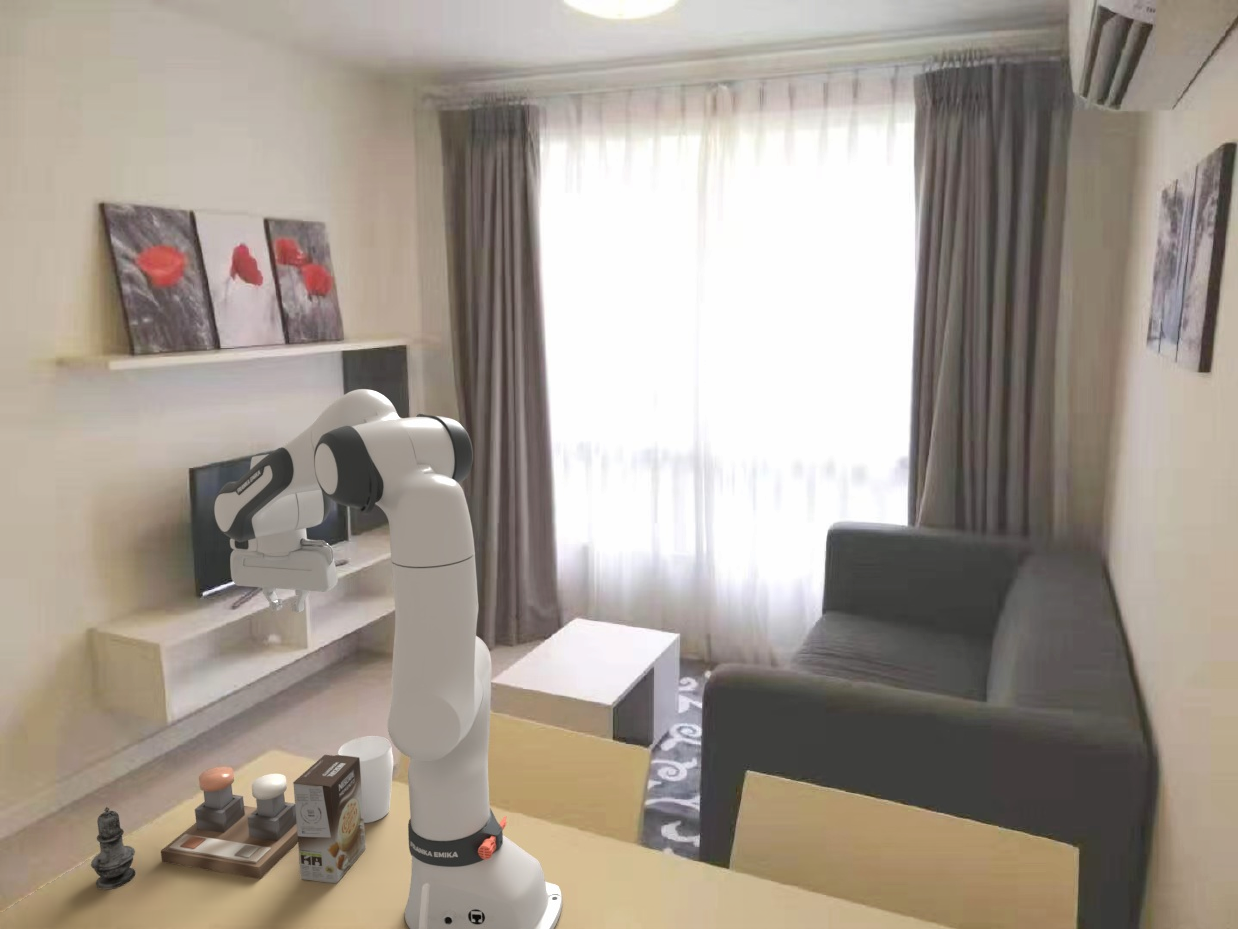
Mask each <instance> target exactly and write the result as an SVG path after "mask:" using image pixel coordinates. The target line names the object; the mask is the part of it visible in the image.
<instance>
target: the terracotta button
mask: <svg viewBox="0 0 1238 929" xmlns="http://www.w3.org/2000/svg"><path fill="white" fill-rule="evenodd" d="M234 782H235V774H234V769H233V768H232V767H229V766H217V767H212V768H209V769H207V770H206V771H204V772H202V773H201V774H200V775H199V776H198V784H199V789H200V790H201V791H202V792H203V799H204V802H205V807H206V808H212V809H219V810H221V809H222V808H224V807H225V806H226V805H227V804H229V803H230V802H231V801H232V800H233V795H234V794H233V786H232V785H233V783H234Z"/></svg>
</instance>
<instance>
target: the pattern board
mask: <svg viewBox="0 0 1238 929" xmlns="http://www.w3.org/2000/svg"><path fill="white" fill-rule="evenodd" d="M194 814H195V821H196V822H194V823H193V824H192V825H190V827H188V828H187V829H186V830H185V831H183V832H182V833H181V834H180V835H179V836H177V837H176V838H174V839H173V840H172V841H171V842H169V844H167V845H166V846H164V847H163V848H162V849H161V850H160V857H161V862H162V863H165V864H171V865H176V866H177V865H178V866H182V867H183V866H184V867H189V868H194V869H199V870H207V871H211V872H218V873H223V874H230V875H233V876H234V875H235V876H241V877H245V878H252V879H257V880H260V879H262V878H263V877H264V876H265V875H266V874H268V872H269V871H270V870H271V869H273V868H274V866H275V865H277V864H278V863H279V861H280V860H282V858H284V857H285V856H286V854H288V853H289V852H290V851H291V849H293V847H295V846H296V845H297V844H298V835H297V822H296V810H295V802H286V801H285V808H284V809H283V810H282V811H281V812H280V813H279V814H278V815H277V816H275V817H274V818H272V817H265V816H259V815H258V812H257V806H256V807H255V806H247V805H245V803H244V796H243V795H237V794H233V800H232V801H231V802H230V803H229V804H227V805H226V806H225V807H224V808H222V809H221V810H219V809H212V808H206V807H205V801H203V802H202V803H200V804H199V805H198V806H197V807H196V808H195V809H194Z"/></svg>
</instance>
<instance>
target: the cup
mask: <svg viewBox="0 0 1238 929" xmlns="http://www.w3.org/2000/svg"><path fill="white" fill-rule="evenodd" d="M337 753H338V754H337V755H342V756H351V757H359V758H360V773H361V788H362V803H363V818H364V824H366V823H367V824H368V823H373V822H376V821H379V820H381V819H383V818H384V817H385V816H386V815H387V814H388V813H389V811H390V806H391V797H392V796H391V794H392V783H393V781H392V780H393V772H394V770H393V769H394V756H393V749H392V741H391V740H389V739H388V738H386V737H384V736H380V735H367V736H360V737H357V738H354V739H351V740H349V741H346V742H345V743H343V744H342V745H341V746H340V747H339V749H338V752H337Z"/></svg>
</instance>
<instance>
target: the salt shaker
mask: <svg viewBox="0 0 1238 929" xmlns="http://www.w3.org/2000/svg"><path fill="white" fill-rule="evenodd" d="M97 828H98V829H97V830H98V835H97V836H96V841H97V842H99V848H100V850H99V851H100V852H99V853H97V854H96V855H95V856H94V857H93V859H92V860H91V863H90V866H91V868H92V869H93V870H94V872H95V873H96V875H98V876H99V877H98V878H97V880H96V881H95V886H96V887H97V888H98V889H100V890H104V891H105V890H113V889H117V888H120V887H122V886H124V885H126V884H128V883H130V881H133V879H134V878H135V877H136V870H135V868H133V867H131V866H132V864H133V861H134V856H135V855H136V850H135V848H133V847H132V846H128V845H125V844H124V842H123V835H124V832H125V831H124V829H123V828H121V822H120V816H119V813H118V812H117V811H115V810H110V808H109V807H107V806H106V807H105V808H104V811H103V812H102V813H101V814H99V816H98V817H97Z"/></svg>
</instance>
